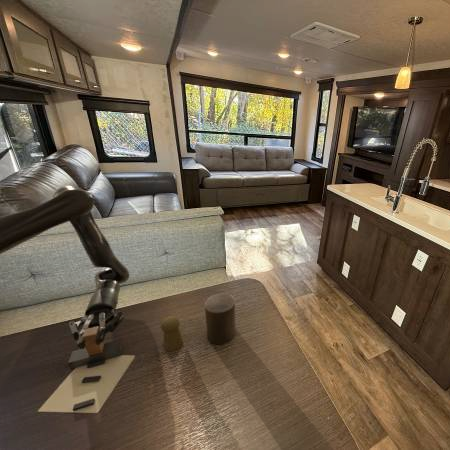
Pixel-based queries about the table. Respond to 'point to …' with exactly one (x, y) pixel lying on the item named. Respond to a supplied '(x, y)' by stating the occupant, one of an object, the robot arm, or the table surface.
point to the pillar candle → (220, 318)
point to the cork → (171, 334)
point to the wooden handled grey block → (94, 350)
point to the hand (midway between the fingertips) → (89, 344)
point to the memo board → (87, 386)
